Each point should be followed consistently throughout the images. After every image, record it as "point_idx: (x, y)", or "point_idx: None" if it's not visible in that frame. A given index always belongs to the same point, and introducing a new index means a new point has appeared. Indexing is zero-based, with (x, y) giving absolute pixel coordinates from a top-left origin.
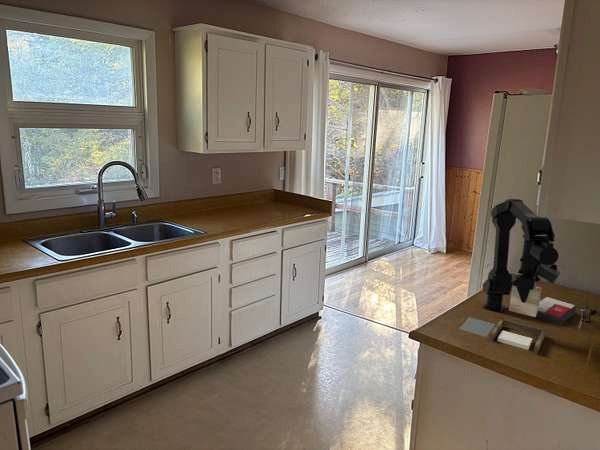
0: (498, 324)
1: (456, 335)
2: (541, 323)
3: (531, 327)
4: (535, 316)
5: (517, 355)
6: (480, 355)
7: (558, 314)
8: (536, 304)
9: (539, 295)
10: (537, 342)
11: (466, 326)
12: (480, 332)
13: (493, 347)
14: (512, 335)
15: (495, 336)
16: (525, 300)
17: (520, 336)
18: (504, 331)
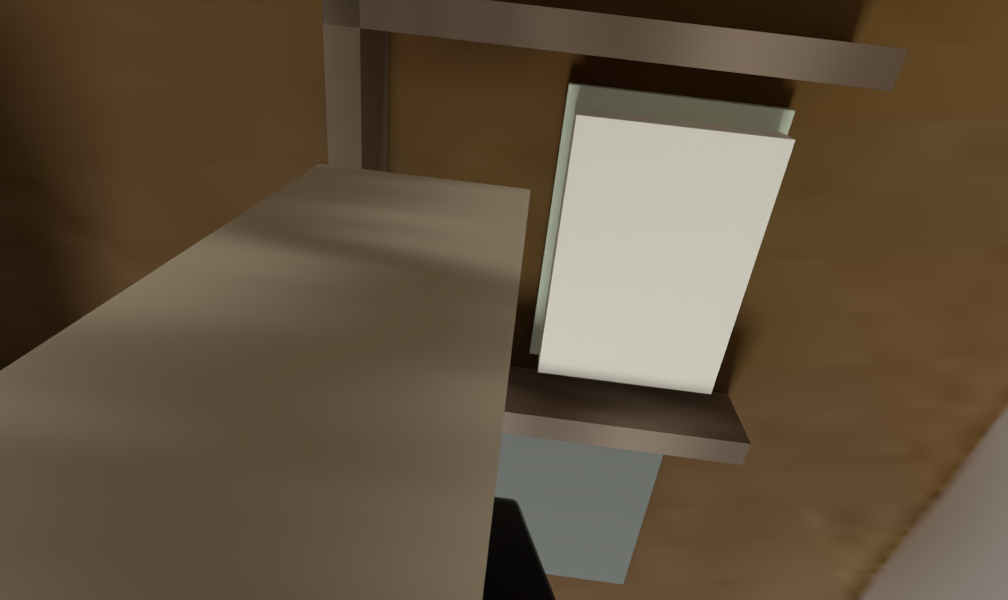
0: None
1: (703, 577)
2: (5, 39)
3: (360, 149)
4: (508, 188)
5: (887, 208)
6: (974, 444)
7: None
8: (513, 310)
9: (272, 415)
10: (759, 61)
11: (553, 554)
12: (605, 480)
13: (798, 381)
14: (604, 294)
15: (643, 396)
16: (535, 552)
17: (587, 228)
18: (554, 357)
